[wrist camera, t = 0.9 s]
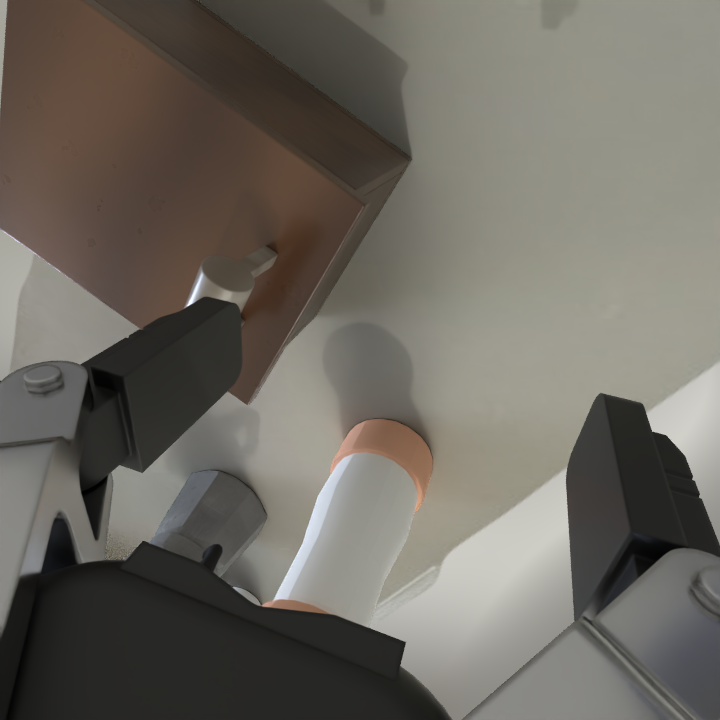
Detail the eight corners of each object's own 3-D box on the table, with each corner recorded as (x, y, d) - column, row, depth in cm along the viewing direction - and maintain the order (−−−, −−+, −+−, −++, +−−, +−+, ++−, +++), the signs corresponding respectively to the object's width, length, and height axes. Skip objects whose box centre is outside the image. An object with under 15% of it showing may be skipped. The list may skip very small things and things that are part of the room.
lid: (372, 201, 19) (320, 236, 14) (255, 398, 26) (197, 461, 22) (28, -49, 19) (-130, -91, 14) (6, 220, 26) (-105, 248, 21)
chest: (412, 158, 27) (356, 189, 19) (314, 317, 34) (243, 389, 26) (185, -8, 27) (29, -49, 19) (135, 188, 34) (6, 220, 26)
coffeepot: (223, 552, 52) (97, 735, 38) (161, 492, 51) (4, 659, 36) (314, 508, 44) (198, 723, 29) (243, 435, 42) (83, 623, 28)
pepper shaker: (423, 502, 39) (342, 781, 23) (341, 474, 41) (213, 719, 25) (441, 434, 35) (359, 714, 20) (349, 407, 37) (204, 645, 21)
